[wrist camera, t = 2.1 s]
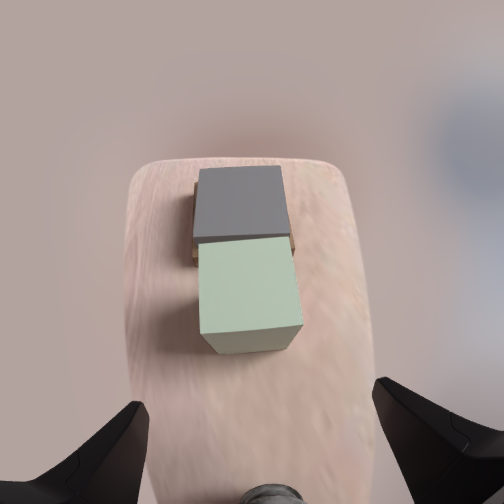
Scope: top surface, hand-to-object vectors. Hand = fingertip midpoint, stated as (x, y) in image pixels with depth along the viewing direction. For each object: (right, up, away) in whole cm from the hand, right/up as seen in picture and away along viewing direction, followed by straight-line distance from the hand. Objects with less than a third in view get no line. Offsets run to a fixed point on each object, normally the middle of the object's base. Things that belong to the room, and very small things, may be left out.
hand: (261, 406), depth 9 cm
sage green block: (0, 0, +14) cm, 14 cm away
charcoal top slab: (-1, +10, +17) cm, 20 cm away
